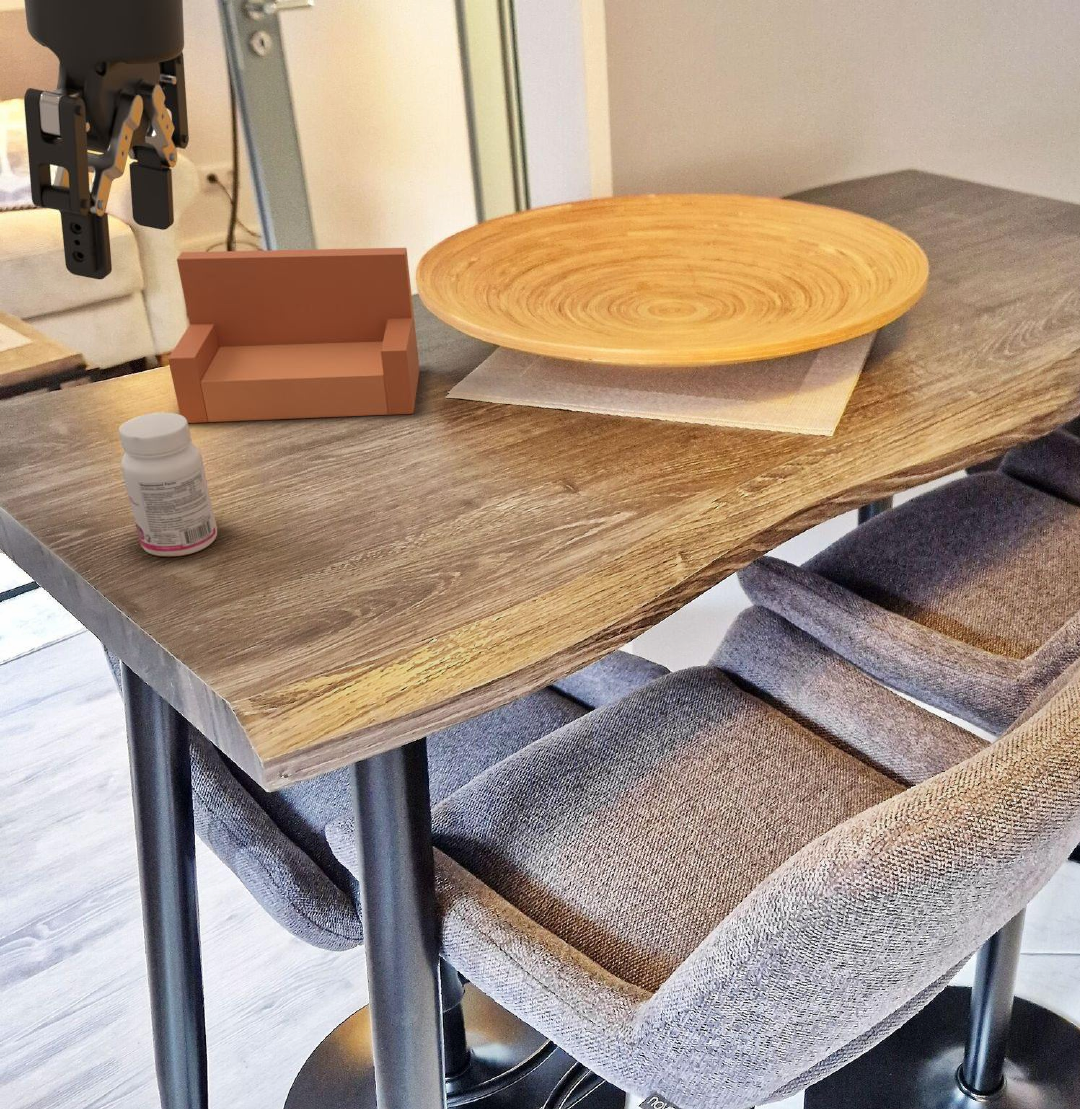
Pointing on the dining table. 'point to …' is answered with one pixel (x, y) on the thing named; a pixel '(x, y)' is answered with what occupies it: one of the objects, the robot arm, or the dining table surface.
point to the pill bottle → (166, 485)
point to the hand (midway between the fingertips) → (123, 249)
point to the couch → (296, 335)
